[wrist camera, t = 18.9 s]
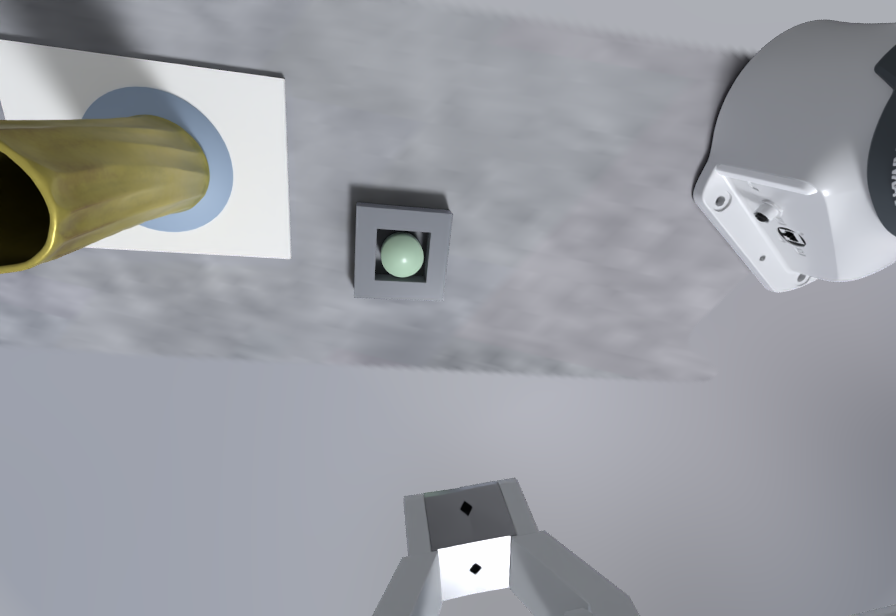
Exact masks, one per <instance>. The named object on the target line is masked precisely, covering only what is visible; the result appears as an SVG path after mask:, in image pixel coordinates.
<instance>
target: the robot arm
mask: <svg viewBox="0 0 896 616" xmlns="http://www.w3.org/2000/svg"><path fill="white" fill-rule="evenodd" d="M693 198H694V201H695V203H696V204H697V205H698V207H699V208H700V209H701V210H702V212H703V213H704V214H705V215H706V216H707V218H708V219H709V220H710V221H711V223H712V224H713V225H714V226H715V227H716V229H717V230H718V231H719V232H720V234H721V235H722V236H723V237H724V238H725V240H726V241H727V242H728V243H729V245H730V246H731V247H732V248H733V250H734V251H735V252H736V253H737V254H738V256H739V257H740V258H741V259H742V261H743V262H744V263H745V264H746V265H747V267H748V268H749V269H750V270H751V272H752V273H753V274H754V275H755V276H756V277H757V279H758V280H759V281H760V282H761V284H762V285H763V286H764V287H765V288H766V289H767V290H770V291H773V292H784V291H790V290H793V289H796V288H799V287H802V286H804V285H806V284H809V283H810V282H813V281H814V280H817V279H822V280H826V281H833V282H846V281H853V280H857V279H861V278H863V277H866V276H869V275H871V274H873V273H876V272H878V271H880V270H882V269H884V268H886V267H888V266H889V265H891V264H893V263H894V262H896V23H880V24H879V23H878V24H863V23H847V22H839V21H832V20H815V21H810V22H806V23H803V24H800V25H797V26H795V27H793V28H791V29H788V30H787V31H785V32H783V33H782V34H780V35H779V36H777V37H775V38H774V39H773V40H772V41H770V42H769V43H768V44H766V45H765V46H764V47H763V48H762V49H761V50H760V51H759V52H758V53H757V54H756V55H755V56H754V57H753V58H752V59H751V60H750V61H749V63H748V64H747V65H746V66H745V67H744V69H743V70H742V71H741V73H740V74H739V76H738V77H737V79H736V80H735V82H734V84H733V85H732V87H731V89H730V91H729V92H728V94H727V96H726V98H725V101H724V103H723V105H722V108H721V110H720V113H719V116H718V119H717V123H716V126H715V131H714V136H713V142H712V147H711V152H710V156H709V159H708V162H707V163H706V165H705V167H704V169H703V171H702V173H701V175H700V177H699V179H698V181H697V183H696V186H695V189H694V193H693ZM717 198H718V201H717V203H716V199H717ZM404 514H405V525H406V537H407V548H408V556H407V557H402V559H401V561H400V563H399V565H398V567H397V569H396V571H395V573H394V574H393V576H392V579H391V581H390V582H389V584H388V586H387V588H386V590H385V592H384V594H383V596H382V598H381V600H380V602H379V604H378V606H377V608H376V609H375V611H374V613H373V616H438V615H439V612H440V609H441V606H442V601H444V600H448V599H453V598H457V597H461V596H465V595H469V594H474V593H478V592H484V591H490V590H495V589H501V588H507V587H510V590H511V591H512V592H513V593H514V594H515V595H516V596H517V598H518V599H519V600H520V601H521V602H522V603H523V604H524V605H525V606H526V608H527V609H528V610H529V611H530V612H531V613H532V614H533V615H534V616H640V615H639V613H638V611H637V609H636V608H635V606H634V604H633V602H632V600H631V598H630V597H629V596H628V595H627V594H626V593H624V592H623V591H622V590H621V589H619V588H618V587H617V586H615V585H614V584H613V583H612V582H610V581H609V580H608V579H606V578H605V577H604V576H603V575H601V574H600V573H599V572H597V571H596V570H595V569H594V568H592V567H591V566H590V565H588V564H587V563H586V562H585V561H583V560H582V559H581V558H579V557H578V556H577V555H576V554H574V553H573V552H572V551H570V550H569V549H568V548H566V547H565V546H564V545H563V544H561V543H560V542H559V541H557V540H556V539H555V538H554V537H552V536H551V535H550V534H549V533H547V532H546V531H539V530H538V528H537V526H536V523H535V521H534V519H533V516H532V513H531V511H530V509H529V506H528V504H527V502H526V499H525V497H524V494H523V492H522V490H521V487H520V485H519V482H518V480H517V479H516V478H510V479H504V480H499V481H492V482H486V483H481V484H475V485H470V486H464V487H460V488H456V489H449V490H442V491H435V492H428V493H423V494H416V495H409V496H404ZM851 616H896V604H895V605H891V606H887V607H883V608H879V609H875V610H871V611H867V612H862V613H858V614H854V615H851Z"/></svg>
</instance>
